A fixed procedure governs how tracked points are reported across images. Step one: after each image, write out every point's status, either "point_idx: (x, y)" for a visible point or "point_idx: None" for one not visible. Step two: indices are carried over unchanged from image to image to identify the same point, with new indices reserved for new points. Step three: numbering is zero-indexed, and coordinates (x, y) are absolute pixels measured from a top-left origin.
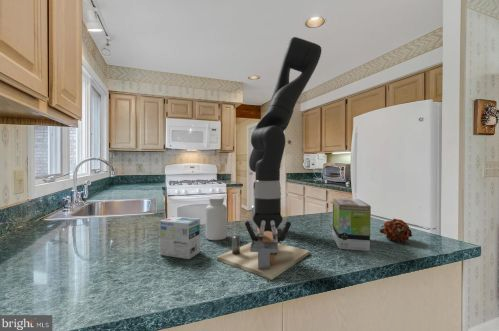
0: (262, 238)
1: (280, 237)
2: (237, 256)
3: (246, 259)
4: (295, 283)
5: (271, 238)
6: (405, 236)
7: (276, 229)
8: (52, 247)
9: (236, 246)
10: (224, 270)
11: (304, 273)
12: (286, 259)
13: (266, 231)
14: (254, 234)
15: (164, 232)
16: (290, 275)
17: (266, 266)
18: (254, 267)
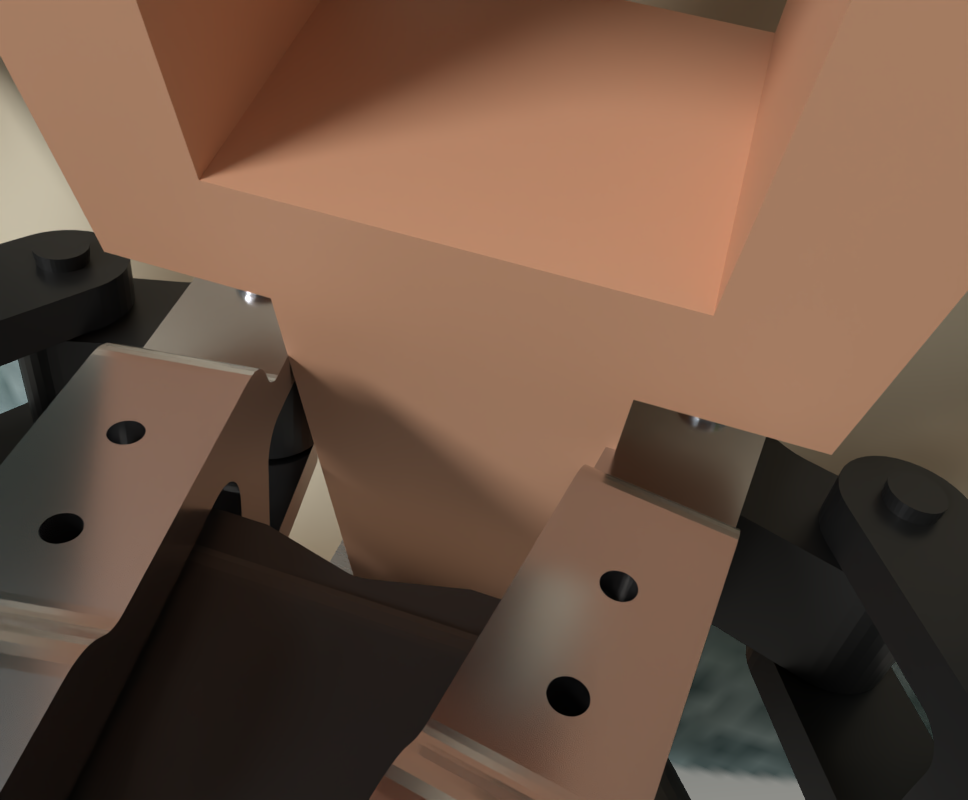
0: (290, 518)
1: (764, 689)
2: (33, 125)
3: (192, 278)
4: (689, 768)
5: (549, 499)
6: None
7: (932, 281)
8: None
9: None
10: (9, 373)
11: (911, 690)
12: (848, 443)
13: (408, 253)
14: (34, 342)
15: None
16: (714, 666)
17: None
18: (311, 518)
